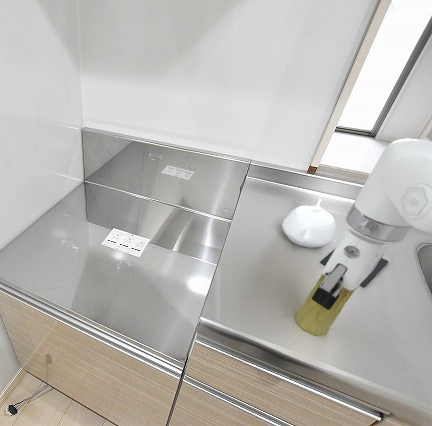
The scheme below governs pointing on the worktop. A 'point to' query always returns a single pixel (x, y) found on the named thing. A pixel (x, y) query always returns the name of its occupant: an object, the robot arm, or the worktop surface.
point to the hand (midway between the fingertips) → (328, 295)
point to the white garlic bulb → (310, 226)
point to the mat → (370, 276)
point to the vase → (320, 311)
